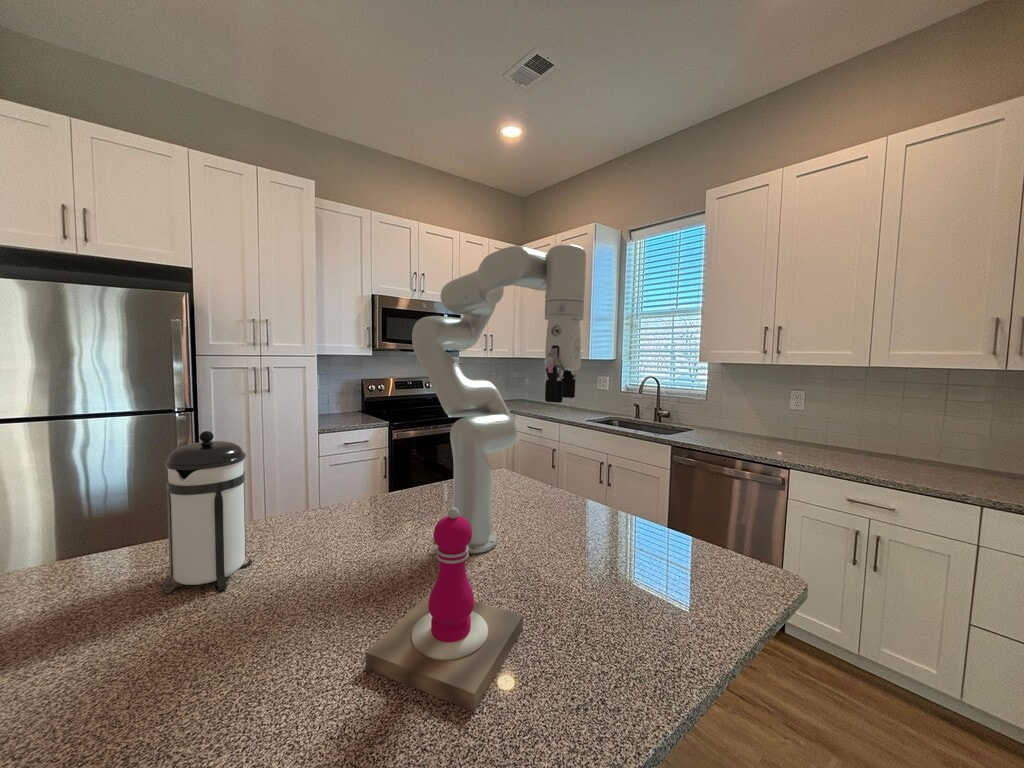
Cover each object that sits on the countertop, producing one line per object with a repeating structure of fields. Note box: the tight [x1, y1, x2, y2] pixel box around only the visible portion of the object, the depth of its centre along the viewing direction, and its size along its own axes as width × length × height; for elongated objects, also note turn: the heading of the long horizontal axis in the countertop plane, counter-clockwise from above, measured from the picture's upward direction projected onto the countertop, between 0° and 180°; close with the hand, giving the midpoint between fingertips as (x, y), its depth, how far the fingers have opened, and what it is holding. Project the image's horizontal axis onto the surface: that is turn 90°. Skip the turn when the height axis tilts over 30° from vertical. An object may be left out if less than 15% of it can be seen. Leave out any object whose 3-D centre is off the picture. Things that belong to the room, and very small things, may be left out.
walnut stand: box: [365, 591, 524, 712], centre depth 66 cm, size 18×18×3 cm
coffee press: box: [161, 430, 253, 595], centre depth 84 cm, size 17×16×30 cm
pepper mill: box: [428, 506, 475, 642], centre depth 66 cm, size 7×7×20 cm
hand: (560, 399), depth 82 cm, fingers open, 9 cm apart
